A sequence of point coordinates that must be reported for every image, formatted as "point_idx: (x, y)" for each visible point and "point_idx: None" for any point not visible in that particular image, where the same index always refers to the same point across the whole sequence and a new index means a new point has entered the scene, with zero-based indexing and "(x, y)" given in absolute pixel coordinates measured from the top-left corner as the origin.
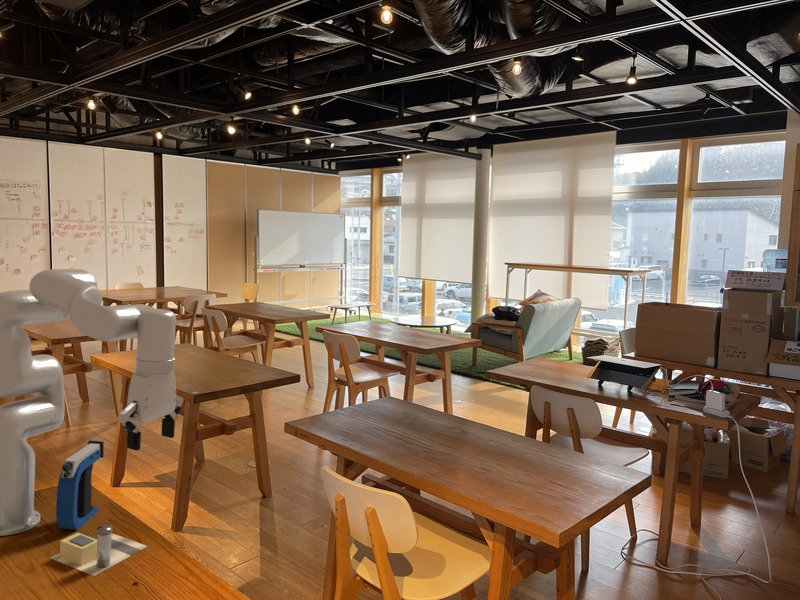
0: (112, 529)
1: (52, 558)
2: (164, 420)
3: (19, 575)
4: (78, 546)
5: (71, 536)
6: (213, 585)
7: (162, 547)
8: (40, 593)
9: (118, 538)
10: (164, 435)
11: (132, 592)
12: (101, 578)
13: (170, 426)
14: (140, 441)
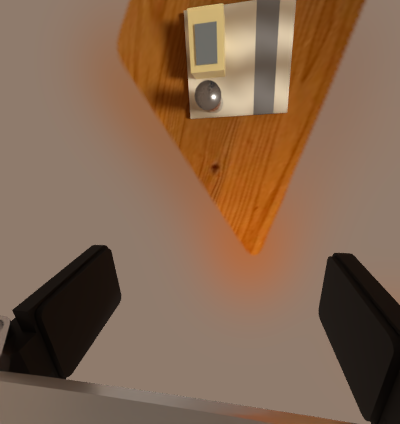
0: (216, 106)
1: (184, 16)
2: (386, 361)
3: (141, 15)
4: (192, 59)
5: (207, 9)
6: (258, 242)
7: (303, 125)
8: (138, 88)
9: (284, 46)
10: (326, 276)
11: (200, 179)
12: (199, 122)
13: (350, 370)
14: (101, 329)
